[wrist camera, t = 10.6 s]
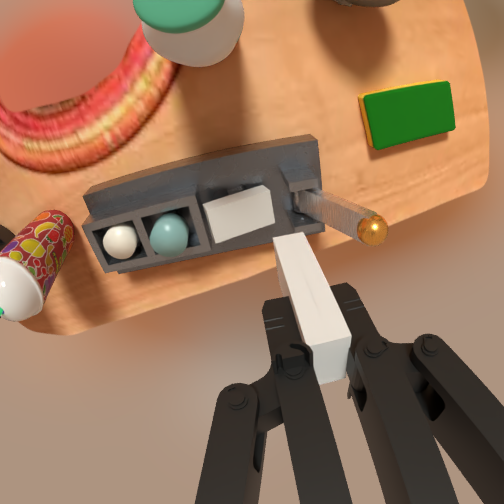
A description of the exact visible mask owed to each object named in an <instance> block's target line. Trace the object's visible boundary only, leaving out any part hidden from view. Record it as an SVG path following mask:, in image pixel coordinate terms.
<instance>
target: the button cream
mask: <svg viewBox="0 0 504 504" xmlns="http://www.w3.org/2000/svg"><path fill="white" fill-rule="evenodd" d="M139 238H140V237H139V235H138V232H137V230H136V227H135V225H134V223H133V222H131V221H126V222H122V223H119V224H115V225H111V226H110V228H109V229H108V231H107V233H106V234H105V236H104V239H103V245H104V248H105V250H106V251H107V253H108V254H110V255H111V256H112V257H114V258H117V259H126V258H129V257H130V256H132V254H133V253H134V251H135V248H136V246H137V243H138V241H139Z"/></svg>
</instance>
